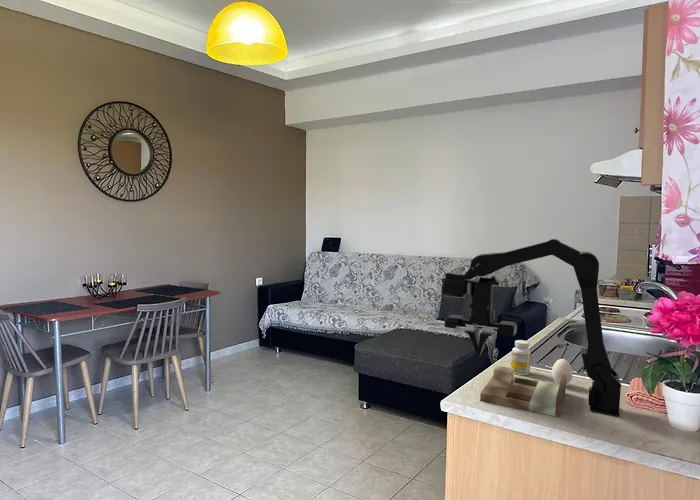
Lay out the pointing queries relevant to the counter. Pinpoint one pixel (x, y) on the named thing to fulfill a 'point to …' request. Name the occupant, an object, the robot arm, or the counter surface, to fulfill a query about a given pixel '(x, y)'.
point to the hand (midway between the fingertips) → (478, 355)
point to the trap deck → (528, 395)
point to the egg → (561, 371)
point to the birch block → (503, 377)
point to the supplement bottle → (521, 358)
